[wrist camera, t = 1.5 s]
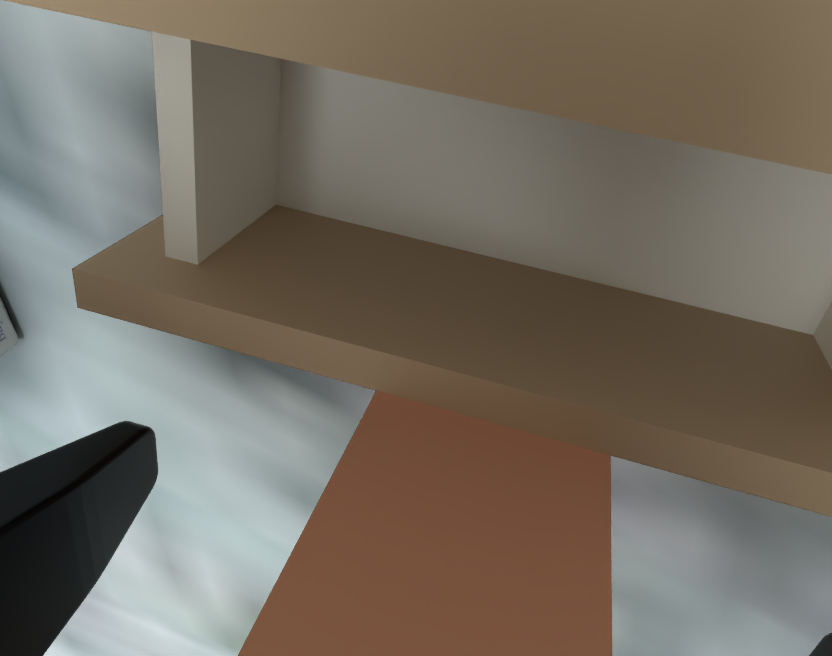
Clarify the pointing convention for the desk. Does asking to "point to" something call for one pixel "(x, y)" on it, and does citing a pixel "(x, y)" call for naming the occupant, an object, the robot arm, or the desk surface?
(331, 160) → the tray
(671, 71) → the mailer sleeve
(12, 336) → the medicine box
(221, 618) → the desk surface
